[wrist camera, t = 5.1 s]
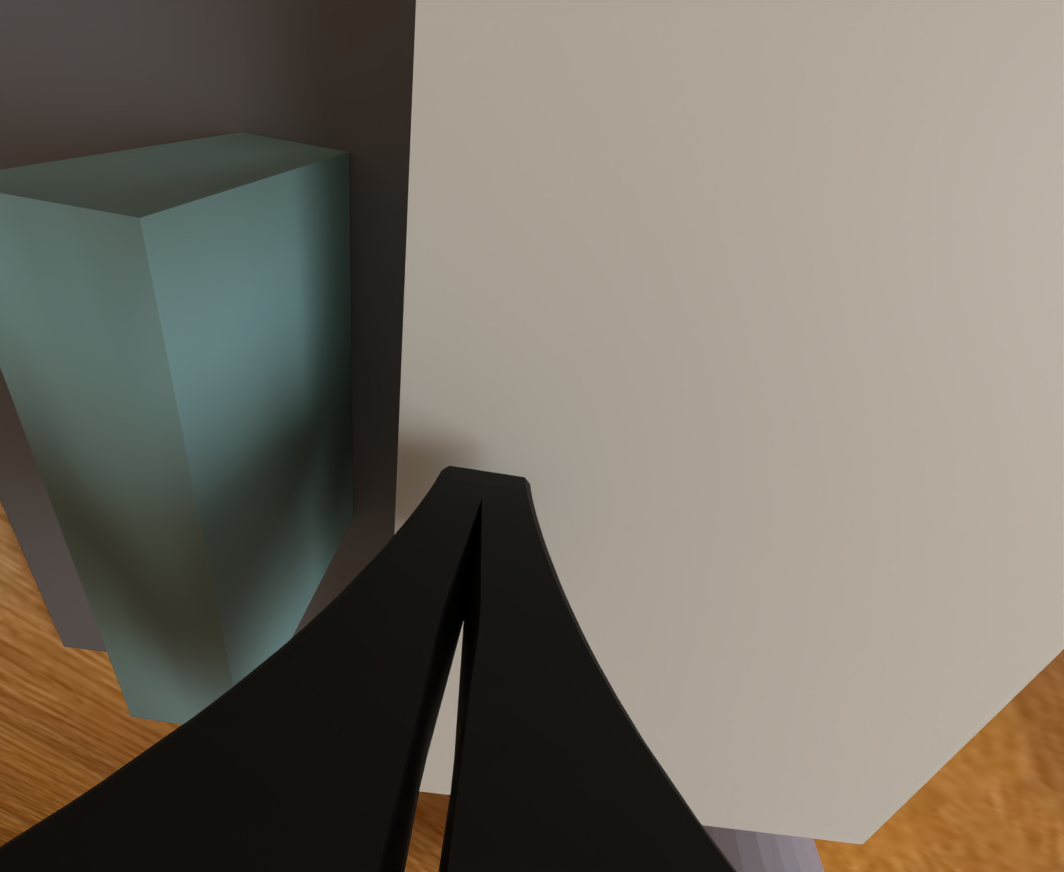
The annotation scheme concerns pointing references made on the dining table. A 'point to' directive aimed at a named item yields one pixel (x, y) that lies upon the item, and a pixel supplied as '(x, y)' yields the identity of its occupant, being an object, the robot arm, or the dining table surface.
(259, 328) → the sage green soap bar
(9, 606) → the dining table surface
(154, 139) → the mat
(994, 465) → the deck
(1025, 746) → the dining table surface
